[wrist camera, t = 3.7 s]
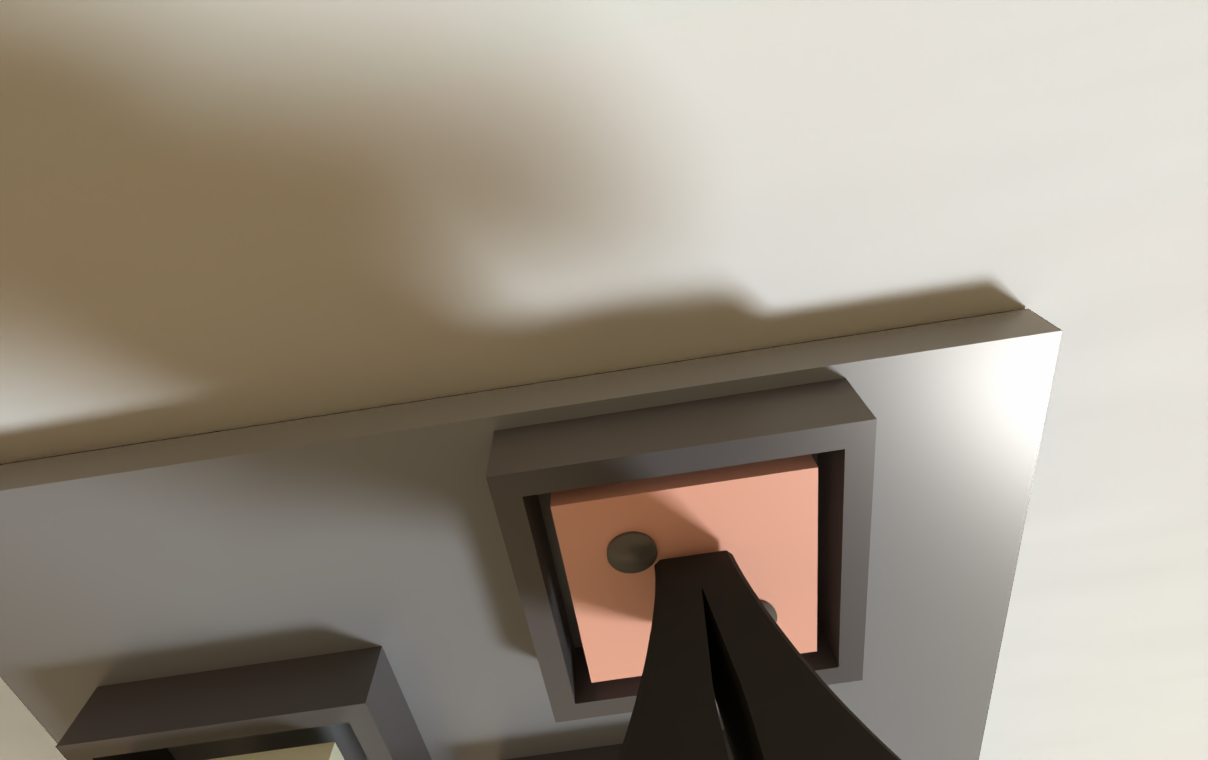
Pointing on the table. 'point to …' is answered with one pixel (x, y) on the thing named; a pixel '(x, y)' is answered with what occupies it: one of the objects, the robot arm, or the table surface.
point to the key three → (687, 549)
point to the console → (515, 554)
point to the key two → (294, 753)
